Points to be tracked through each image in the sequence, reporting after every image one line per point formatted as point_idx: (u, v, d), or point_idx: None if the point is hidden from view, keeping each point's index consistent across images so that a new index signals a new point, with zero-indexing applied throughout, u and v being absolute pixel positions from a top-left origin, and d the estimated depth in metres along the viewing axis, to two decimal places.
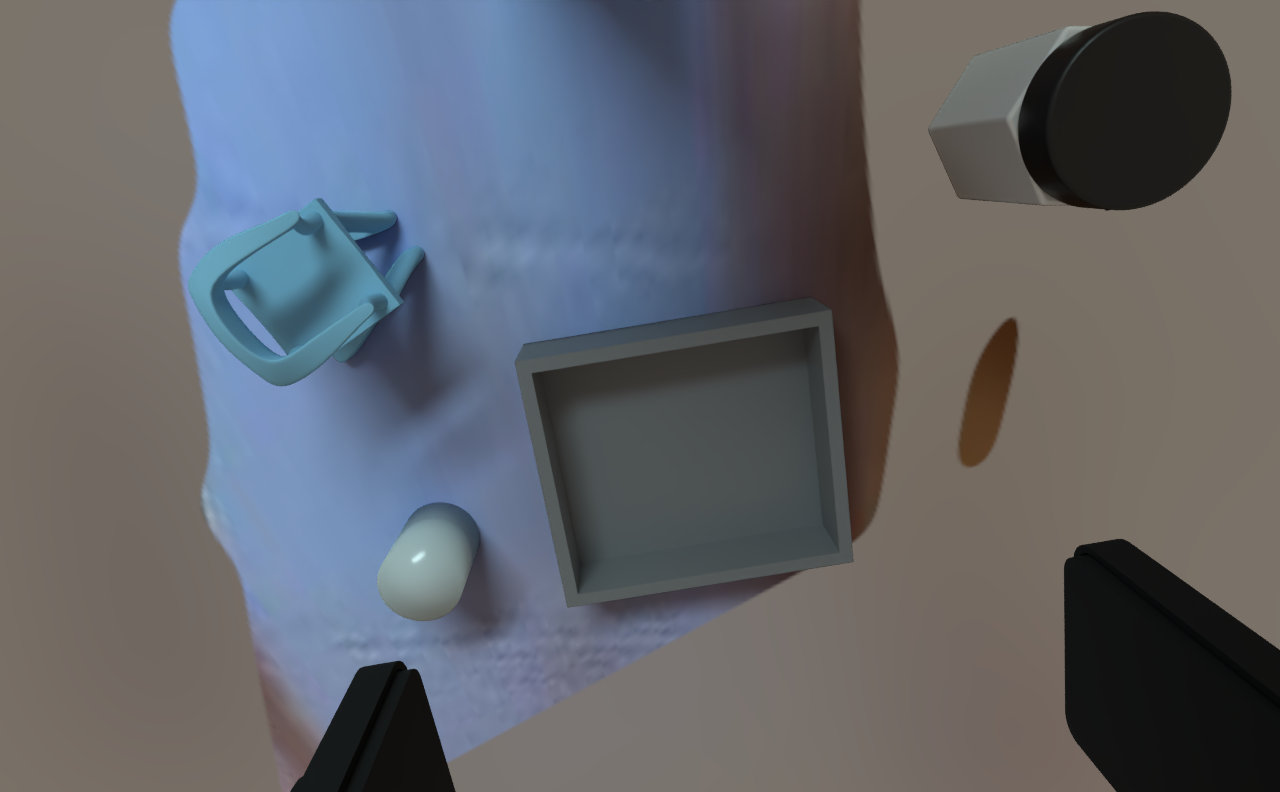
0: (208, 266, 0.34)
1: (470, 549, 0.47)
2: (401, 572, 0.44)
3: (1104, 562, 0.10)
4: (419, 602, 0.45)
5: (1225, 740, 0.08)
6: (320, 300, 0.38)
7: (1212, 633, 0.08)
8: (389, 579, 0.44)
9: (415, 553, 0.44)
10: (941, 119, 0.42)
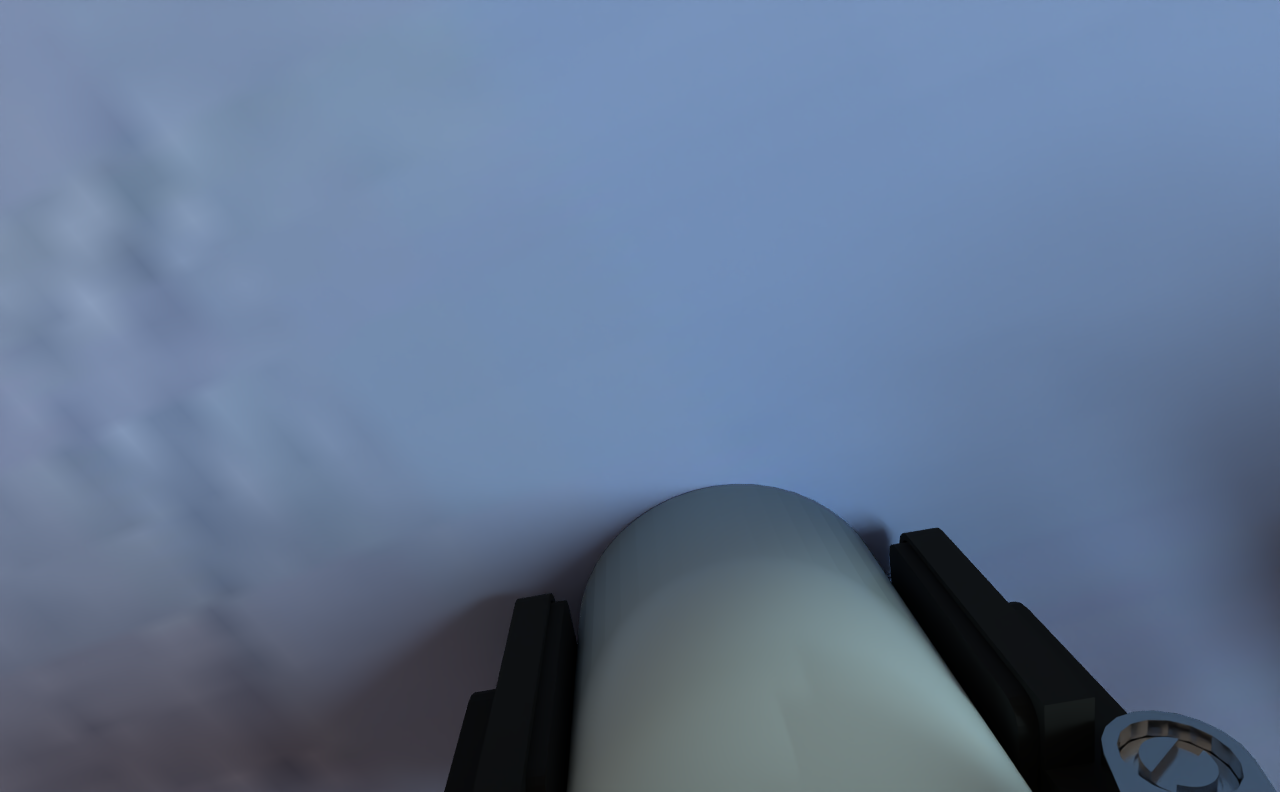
0: None
1: None
2: None
3: (915, 548, 0.11)
4: None
5: (978, 701, 0.09)
6: None
7: (976, 608, 0.09)
8: None
9: None
10: None
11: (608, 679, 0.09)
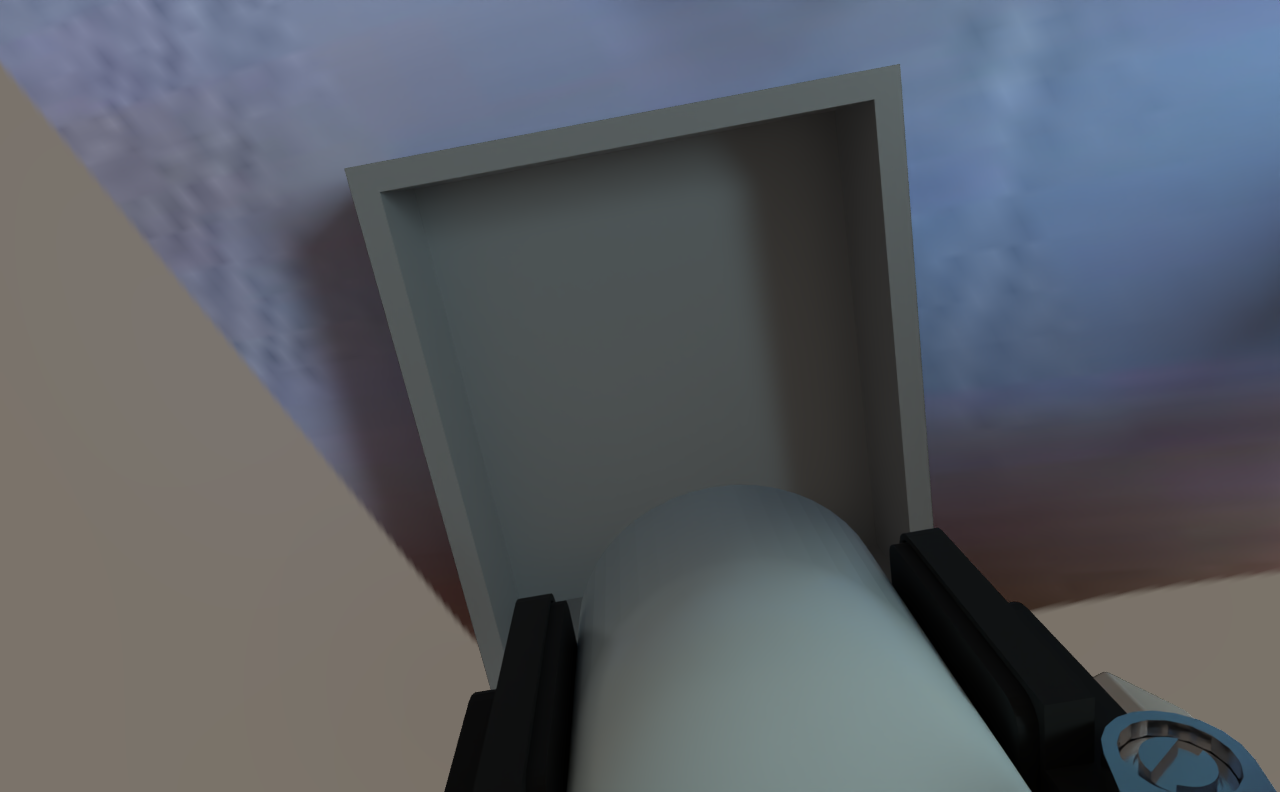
0: None
1: None
2: None
3: (915, 548, 0.11)
4: None
5: (978, 701, 0.09)
6: None
7: (976, 608, 0.09)
8: None
9: None
10: (1134, 693, 0.31)
11: (607, 680, 0.09)
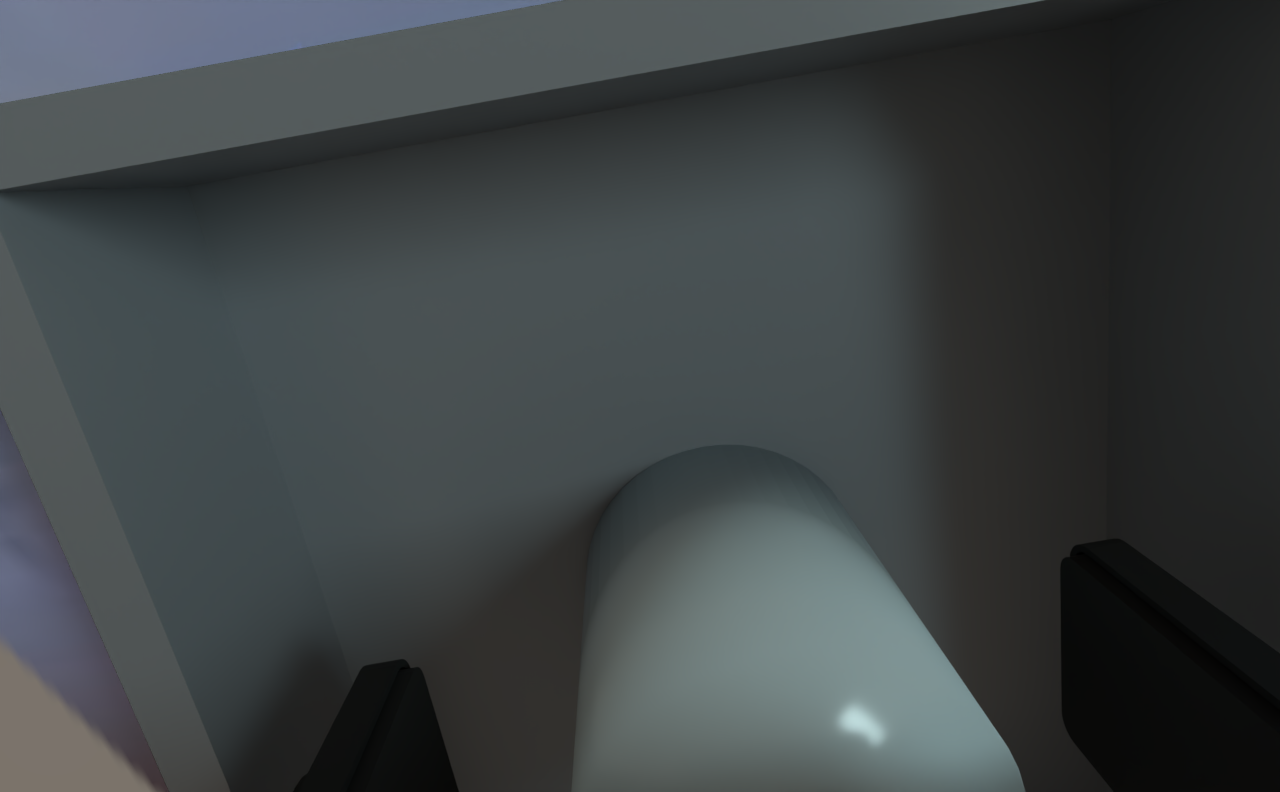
0: None
1: None
2: (876, 775, 0.08)
3: (1100, 561, 0.10)
4: None
5: (1219, 738, 0.08)
6: None
7: (1206, 631, 0.08)
8: (840, 716, 0.08)
9: None
10: None
11: (613, 596, 0.10)
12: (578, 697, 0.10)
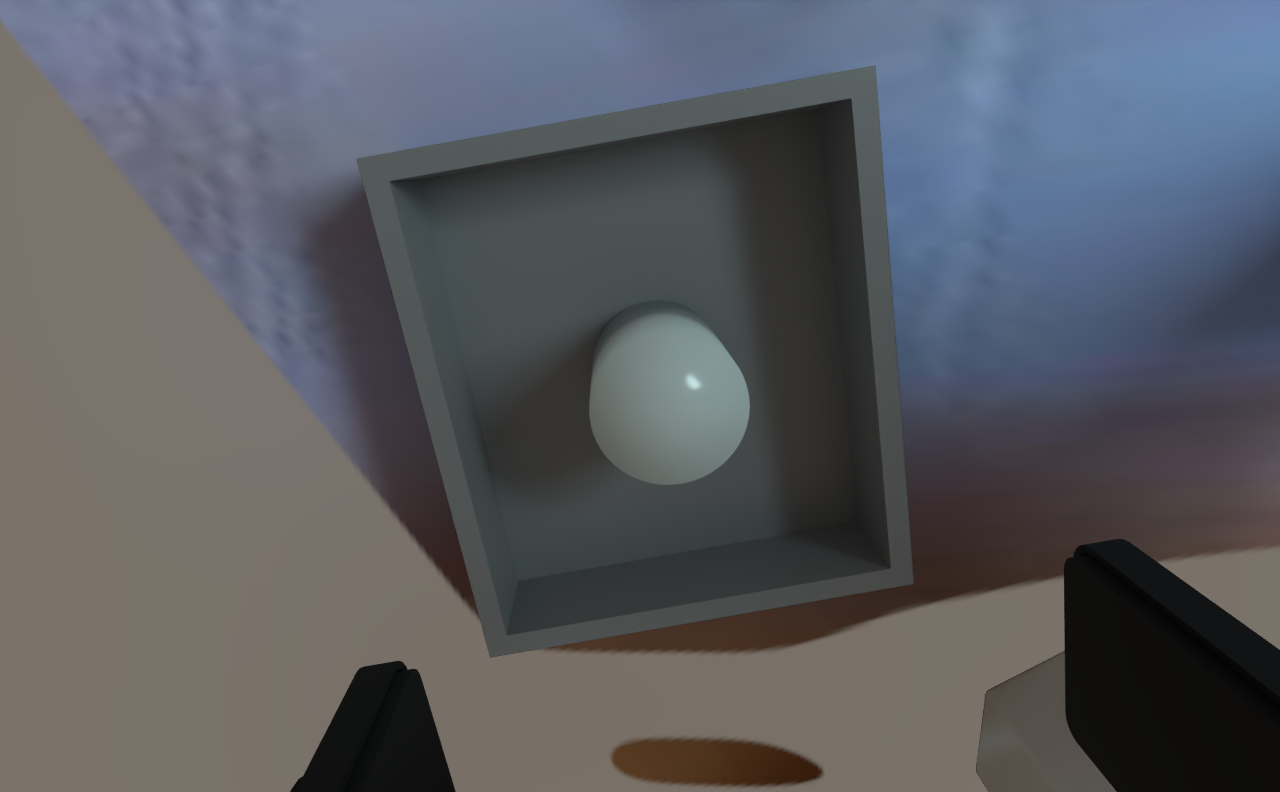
0: None
1: None
2: (694, 377, 0.23)
3: (1104, 562, 0.10)
4: (629, 407, 0.23)
5: (1225, 740, 0.08)
6: None
7: (1212, 633, 0.08)
8: (680, 354, 0.23)
9: (734, 405, 0.23)
10: None
11: (604, 344, 0.26)
12: (591, 381, 0.25)
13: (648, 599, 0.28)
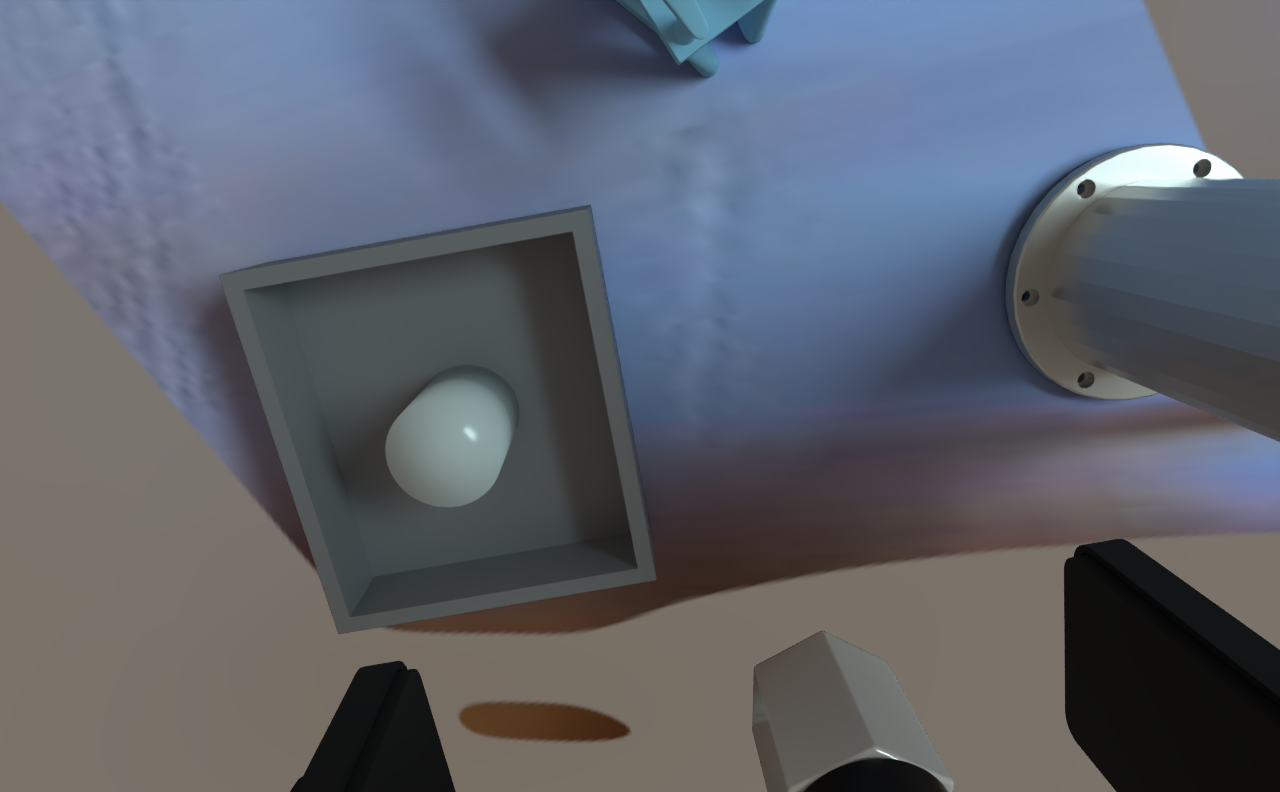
0: None
1: None
2: (459, 431, 0.32)
3: (1104, 562, 0.10)
4: (414, 452, 0.32)
5: (1225, 740, 0.08)
6: None
7: (1212, 633, 0.08)
8: (447, 415, 0.32)
9: (490, 450, 0.33)
10: (835, 646, 0.42)
11: None
12: None
13: (459, 591, 0.38)
